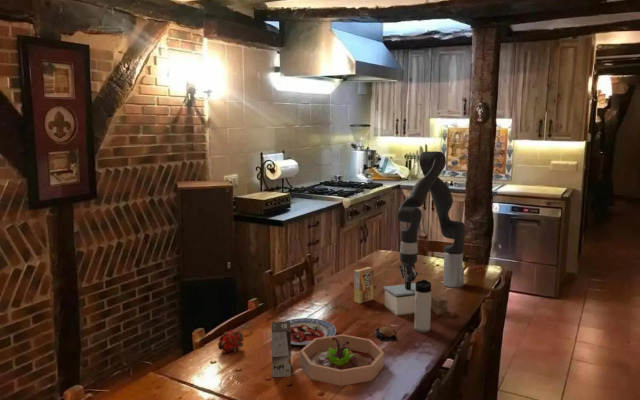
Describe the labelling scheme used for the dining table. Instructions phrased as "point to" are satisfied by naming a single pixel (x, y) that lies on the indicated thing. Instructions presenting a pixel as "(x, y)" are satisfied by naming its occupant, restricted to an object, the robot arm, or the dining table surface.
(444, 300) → the walnut block
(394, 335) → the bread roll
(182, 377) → the dining table surface
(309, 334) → the ceramic plate
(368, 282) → the candy box
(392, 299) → the chest
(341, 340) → the brown shallow octagonal piece
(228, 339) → the dragon fruit
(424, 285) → the travel mug
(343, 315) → the dining table surface
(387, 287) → the lid
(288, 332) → the coffee box
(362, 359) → the plant
